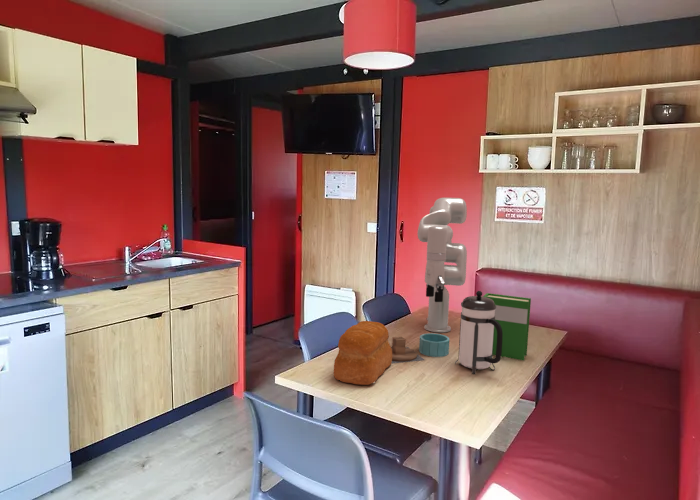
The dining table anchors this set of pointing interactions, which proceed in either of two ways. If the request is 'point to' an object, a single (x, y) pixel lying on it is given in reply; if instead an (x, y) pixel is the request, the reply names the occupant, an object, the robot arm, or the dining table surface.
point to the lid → (401, 350)
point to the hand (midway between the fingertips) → (434, 299)
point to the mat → (412, 360)
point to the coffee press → (478, 333)
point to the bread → (363, 353)
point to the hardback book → (512, 324)
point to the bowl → (434, 345)
